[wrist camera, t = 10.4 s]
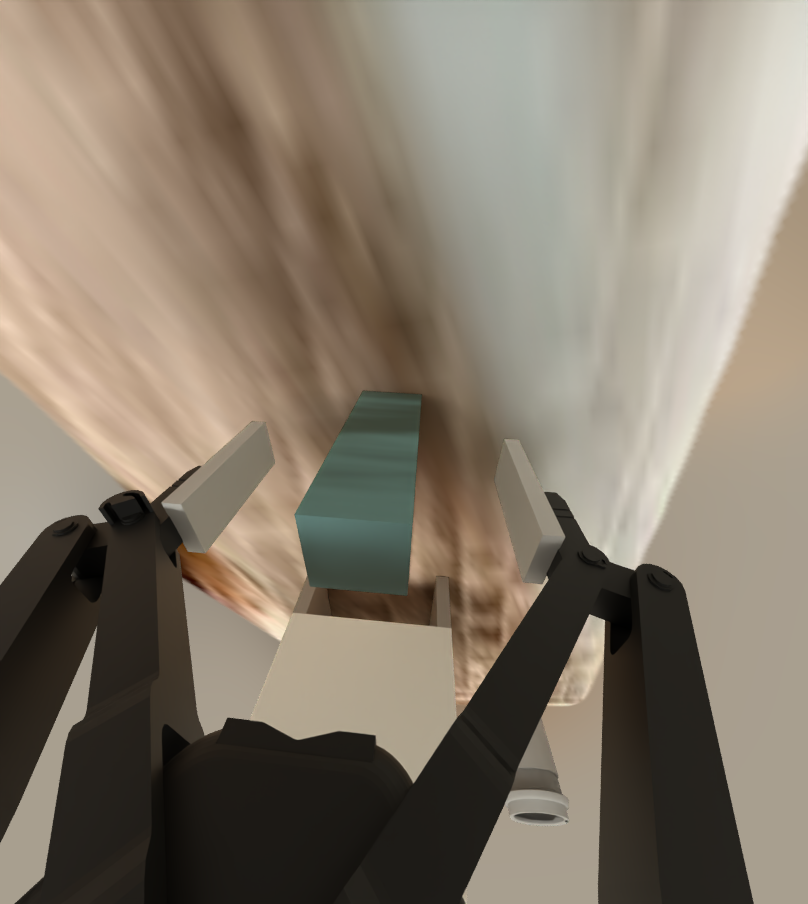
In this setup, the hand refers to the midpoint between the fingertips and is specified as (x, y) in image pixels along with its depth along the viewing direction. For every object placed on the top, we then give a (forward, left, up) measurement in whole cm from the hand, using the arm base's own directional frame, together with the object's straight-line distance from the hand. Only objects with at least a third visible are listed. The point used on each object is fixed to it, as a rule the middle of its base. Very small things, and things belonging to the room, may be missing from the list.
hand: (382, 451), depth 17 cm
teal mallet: (+8, 0, -5) cm, 10 cm away
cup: (+38, +17, -5) cm, 42 cm away
